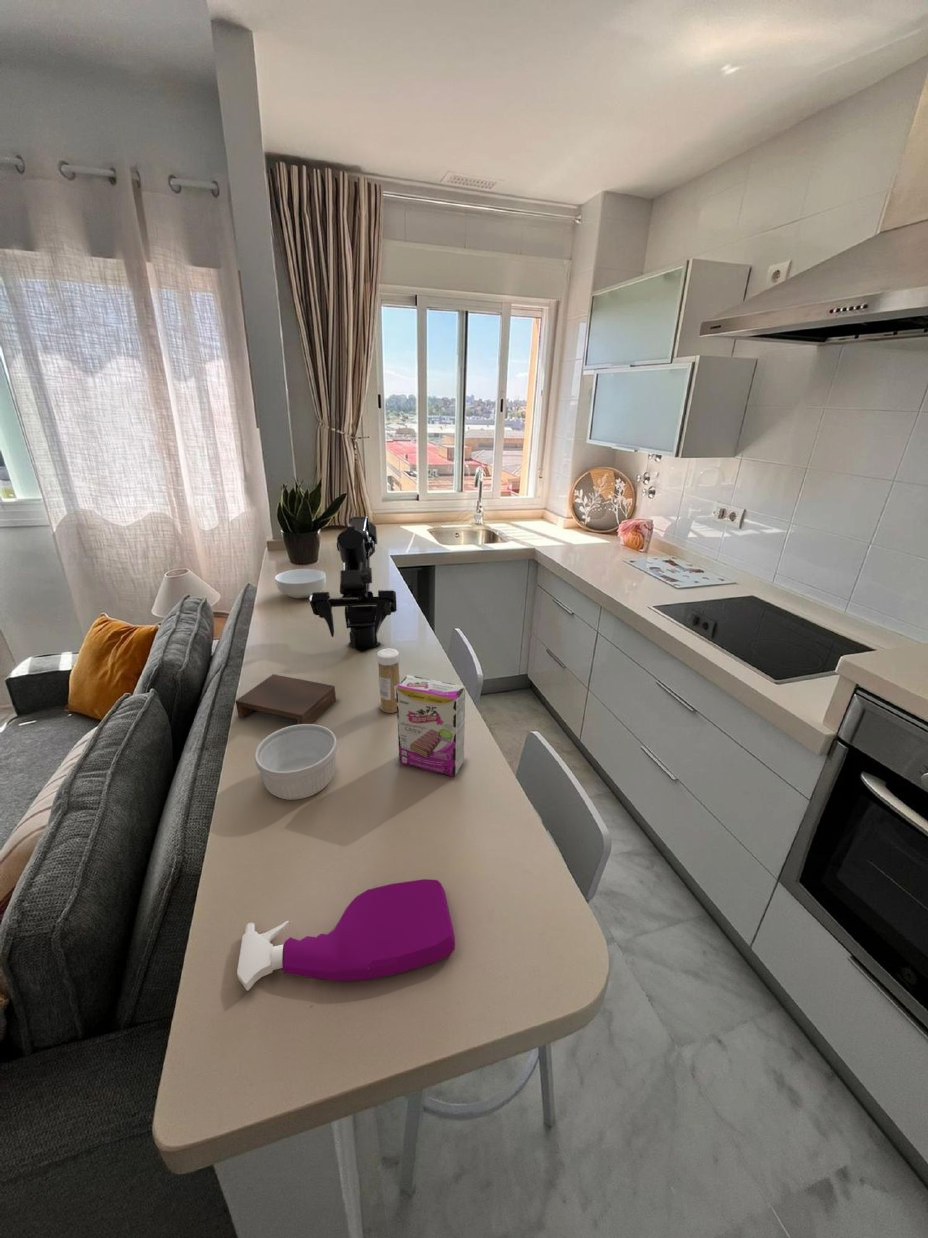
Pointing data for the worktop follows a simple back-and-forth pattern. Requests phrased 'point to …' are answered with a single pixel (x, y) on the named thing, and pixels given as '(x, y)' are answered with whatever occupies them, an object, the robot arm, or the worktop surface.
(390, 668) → the sprinkles bottle
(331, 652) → the worktop surface
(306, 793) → the ramekin
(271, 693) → the shelf
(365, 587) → the robot arm
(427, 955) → the spray bottle
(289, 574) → the cereal bowl
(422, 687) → the candy bar box
